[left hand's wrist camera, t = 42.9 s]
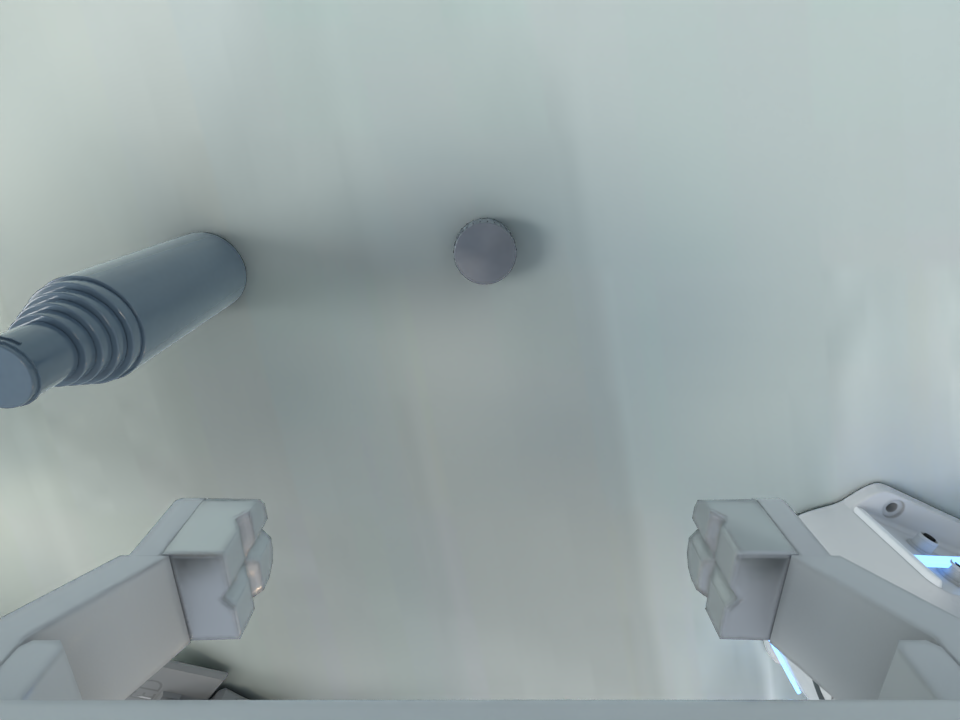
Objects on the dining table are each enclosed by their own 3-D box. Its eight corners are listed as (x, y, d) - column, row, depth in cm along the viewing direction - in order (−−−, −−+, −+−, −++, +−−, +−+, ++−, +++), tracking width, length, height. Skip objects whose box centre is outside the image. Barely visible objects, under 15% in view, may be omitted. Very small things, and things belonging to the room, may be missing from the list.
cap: (442, 251, 38) (439, 257, 36) (482, 204, 36) (481, 207, 35) (487, 290, 38) (487, 297, 37) (527, 245, 37) (530, 251, 36)
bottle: (211, 216, 37) (-13, 284, 20) (262, 283, 38) (95, 397, 22) (151, 258, 38) (-108, 355, 21) (204, 321, 39) (2, 458, 23)
